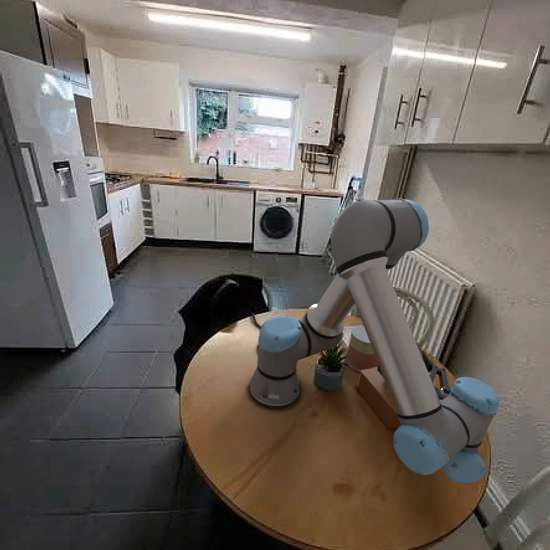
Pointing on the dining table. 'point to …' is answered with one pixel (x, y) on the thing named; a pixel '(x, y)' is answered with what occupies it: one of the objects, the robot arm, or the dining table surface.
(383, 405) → the takeaway box
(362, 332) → the canned food
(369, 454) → the dining table surface
